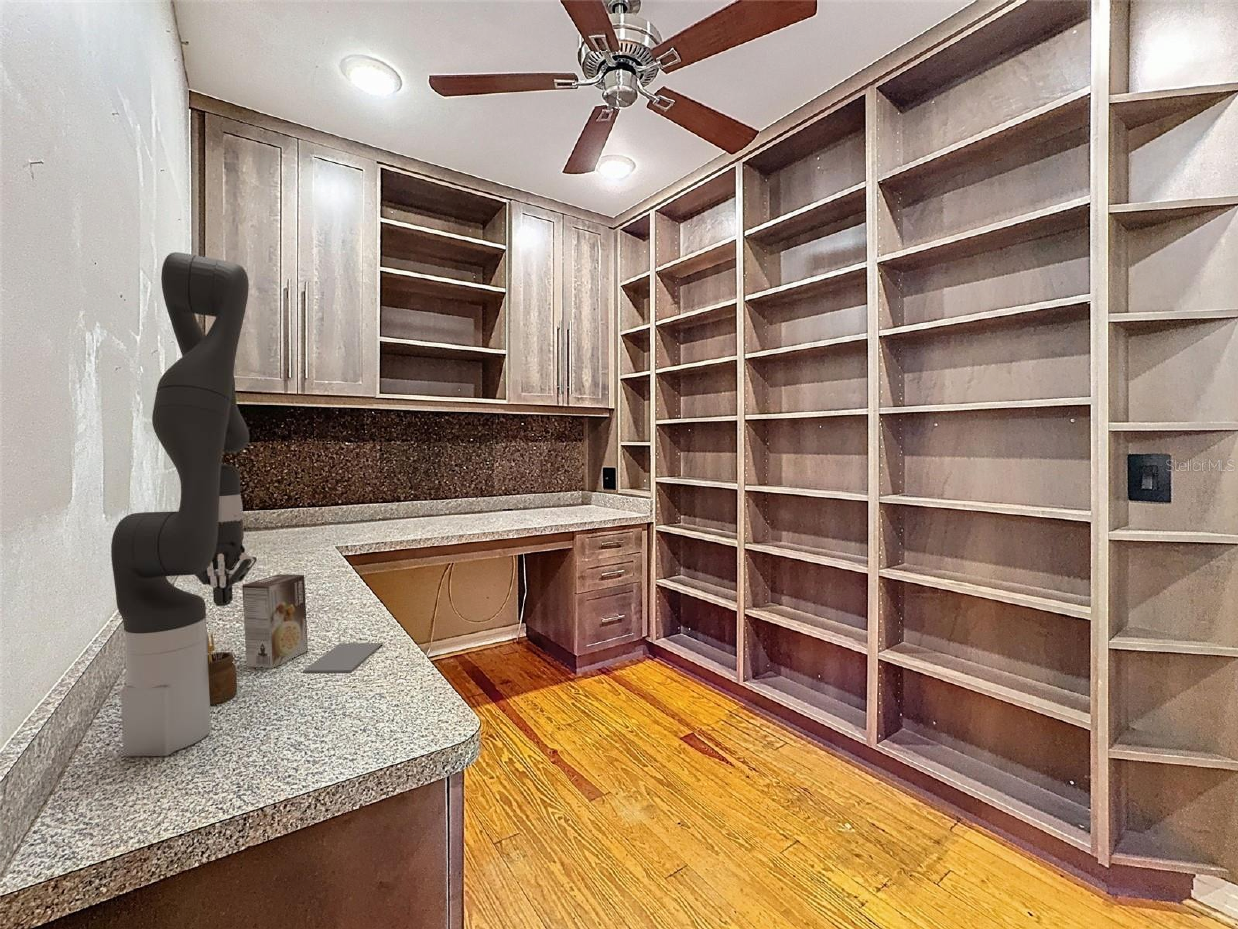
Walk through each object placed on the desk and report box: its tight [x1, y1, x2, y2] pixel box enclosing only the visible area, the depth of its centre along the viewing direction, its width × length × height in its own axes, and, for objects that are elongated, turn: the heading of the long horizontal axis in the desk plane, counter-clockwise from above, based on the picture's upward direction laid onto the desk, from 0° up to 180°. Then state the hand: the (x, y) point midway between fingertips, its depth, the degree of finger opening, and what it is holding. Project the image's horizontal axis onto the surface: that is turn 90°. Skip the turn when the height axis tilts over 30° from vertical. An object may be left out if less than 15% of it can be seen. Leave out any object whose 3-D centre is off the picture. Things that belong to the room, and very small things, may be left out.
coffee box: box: [241, 573, 309, 669], centre depth 111 cm, size 9×6×16 cm
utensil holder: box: [207, 629, 238, 706], centre depth 94 cm, size 6×6×12 cm
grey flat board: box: [302, 642, 384, 674], centre depth 111 cm, size 14×9×1 cm, turn 0°
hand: (223, 605), depth 111 cm, fingers closed
